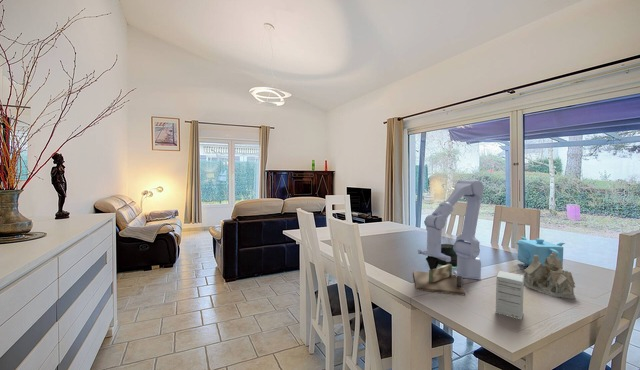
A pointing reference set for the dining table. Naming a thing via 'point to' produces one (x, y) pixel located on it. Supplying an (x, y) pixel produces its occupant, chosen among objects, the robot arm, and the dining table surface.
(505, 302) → the supplement box
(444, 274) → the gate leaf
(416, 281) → the board
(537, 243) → the teakettle
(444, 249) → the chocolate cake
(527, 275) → the ceramic cottage
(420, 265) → the dining table surface
